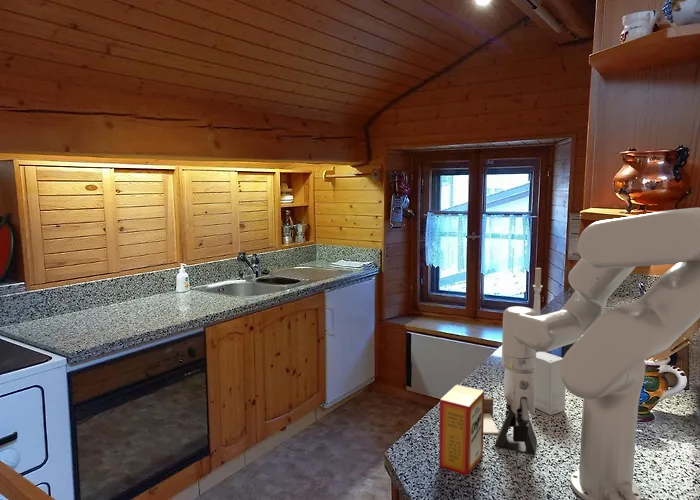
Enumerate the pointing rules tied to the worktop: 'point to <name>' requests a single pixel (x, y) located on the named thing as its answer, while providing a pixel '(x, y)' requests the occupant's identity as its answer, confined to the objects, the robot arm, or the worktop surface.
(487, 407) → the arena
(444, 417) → the baking soda box
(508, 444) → the black tapered piece
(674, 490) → the worktop surface
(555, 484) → the worktop surface
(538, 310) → the candlestick
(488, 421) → the pad
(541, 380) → the skincare box
